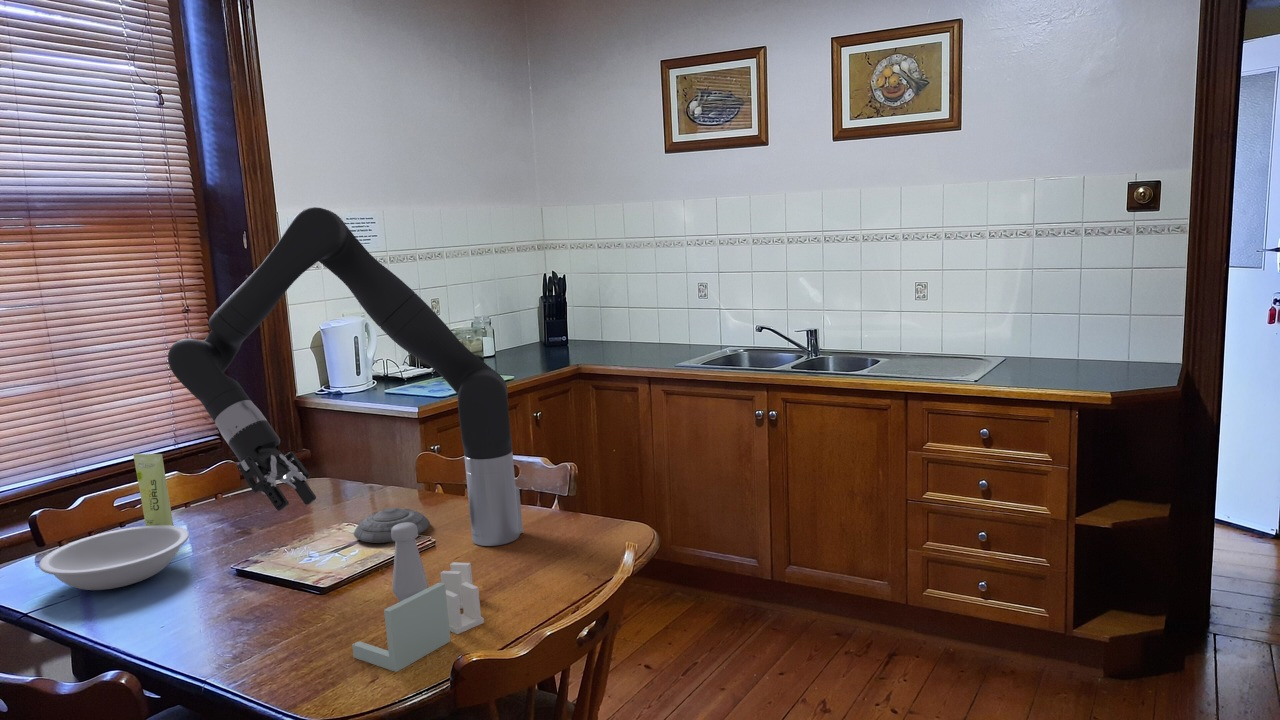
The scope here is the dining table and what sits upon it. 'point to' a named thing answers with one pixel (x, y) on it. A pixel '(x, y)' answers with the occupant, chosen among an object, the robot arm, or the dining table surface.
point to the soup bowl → (115, 557)
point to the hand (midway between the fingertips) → (298, 504)
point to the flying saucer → (388, 524)
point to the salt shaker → (407, 562)
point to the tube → (153, 489)
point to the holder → (410, 630)
